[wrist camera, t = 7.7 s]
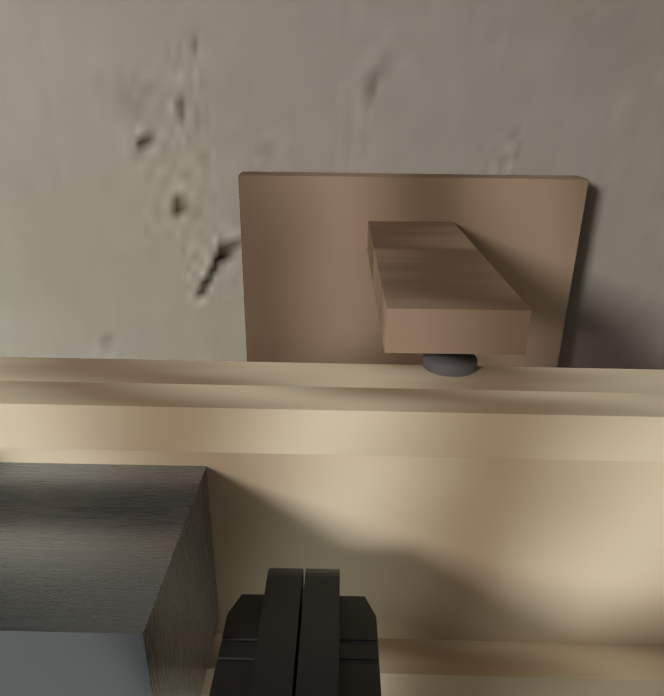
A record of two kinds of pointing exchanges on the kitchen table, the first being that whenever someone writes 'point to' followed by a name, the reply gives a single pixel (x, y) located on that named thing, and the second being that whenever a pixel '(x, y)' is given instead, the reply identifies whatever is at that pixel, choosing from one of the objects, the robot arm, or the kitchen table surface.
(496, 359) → the stand
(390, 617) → the beam
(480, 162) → the kitchen table surface
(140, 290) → the kitchen table surface
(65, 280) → the kitchen table surface
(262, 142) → the kitchen table surface
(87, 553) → the block
